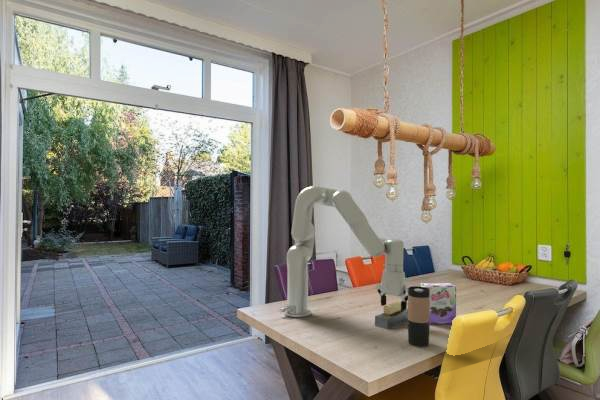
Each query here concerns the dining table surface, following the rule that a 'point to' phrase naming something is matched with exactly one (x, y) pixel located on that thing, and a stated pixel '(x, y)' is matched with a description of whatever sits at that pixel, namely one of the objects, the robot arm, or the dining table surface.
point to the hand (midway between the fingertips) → (393, 307)
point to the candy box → (441, 302)
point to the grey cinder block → (391, 319)
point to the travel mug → (418, 316)
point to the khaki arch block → (392, 308)
